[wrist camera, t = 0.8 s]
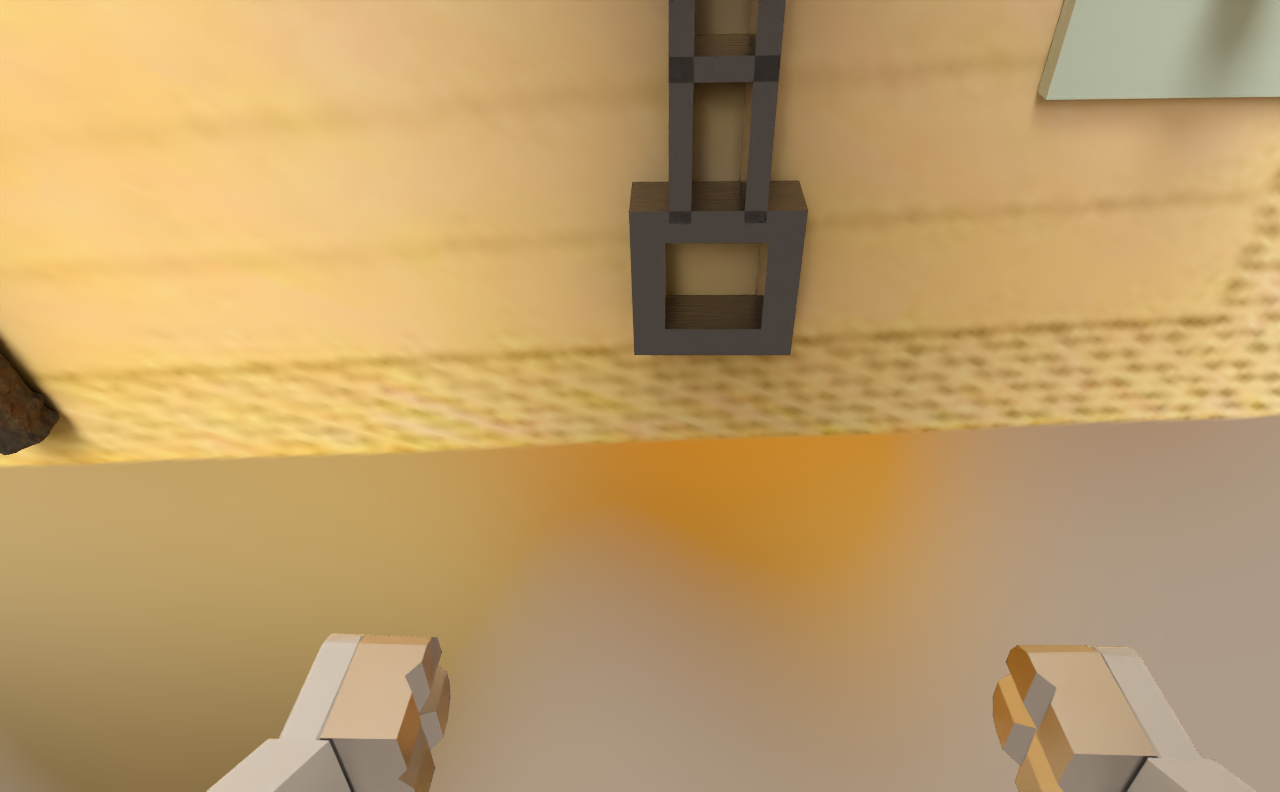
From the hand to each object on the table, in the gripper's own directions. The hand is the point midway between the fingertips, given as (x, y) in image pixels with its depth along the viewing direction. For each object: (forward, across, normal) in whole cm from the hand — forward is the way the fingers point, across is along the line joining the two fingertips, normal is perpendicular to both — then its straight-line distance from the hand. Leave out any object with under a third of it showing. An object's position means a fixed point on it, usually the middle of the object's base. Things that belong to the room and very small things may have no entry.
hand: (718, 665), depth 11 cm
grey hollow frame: (+29, -1, 0) cm, 29 cm away
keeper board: (+28, -21, -13) cm, 37 cm away
